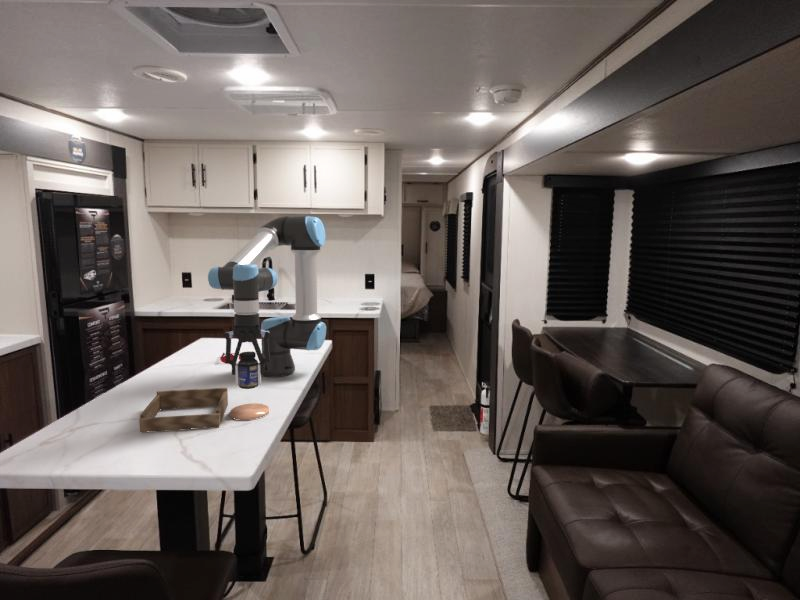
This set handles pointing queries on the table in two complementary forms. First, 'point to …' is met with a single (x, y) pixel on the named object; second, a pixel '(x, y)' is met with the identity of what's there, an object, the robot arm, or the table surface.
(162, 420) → the frame
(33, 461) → the table surface
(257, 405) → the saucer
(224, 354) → the glasses
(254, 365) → the pill bottle
